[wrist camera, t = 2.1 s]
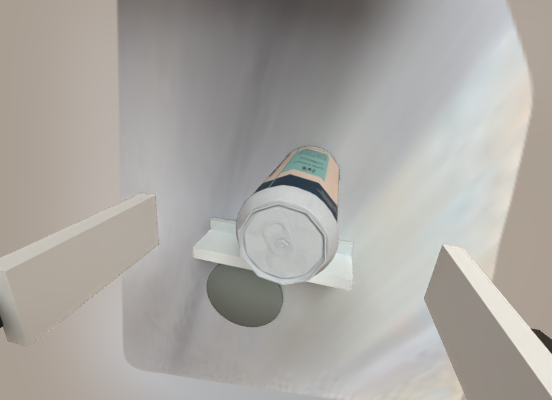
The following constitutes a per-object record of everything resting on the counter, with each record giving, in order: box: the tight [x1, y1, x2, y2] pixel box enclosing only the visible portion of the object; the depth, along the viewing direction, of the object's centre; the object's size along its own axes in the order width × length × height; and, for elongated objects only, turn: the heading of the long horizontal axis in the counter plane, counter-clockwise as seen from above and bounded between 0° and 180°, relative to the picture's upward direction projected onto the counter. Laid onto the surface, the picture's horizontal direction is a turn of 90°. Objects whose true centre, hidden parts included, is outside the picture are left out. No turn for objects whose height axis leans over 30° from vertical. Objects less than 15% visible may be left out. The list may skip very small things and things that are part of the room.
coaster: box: [207, 264, 283, 327], centre depth 28 cm, size 8×8×1 cm
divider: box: [193, 217, 354, 291], centre depth 24 cm, size 3×13×4 cm, turn 85°
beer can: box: [236, 146, 340, 285], centre depth 17 cm, size 5×5×12 cm
